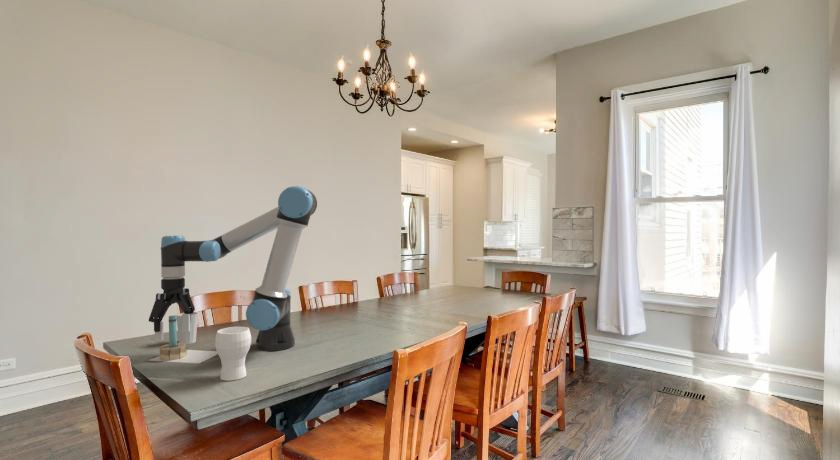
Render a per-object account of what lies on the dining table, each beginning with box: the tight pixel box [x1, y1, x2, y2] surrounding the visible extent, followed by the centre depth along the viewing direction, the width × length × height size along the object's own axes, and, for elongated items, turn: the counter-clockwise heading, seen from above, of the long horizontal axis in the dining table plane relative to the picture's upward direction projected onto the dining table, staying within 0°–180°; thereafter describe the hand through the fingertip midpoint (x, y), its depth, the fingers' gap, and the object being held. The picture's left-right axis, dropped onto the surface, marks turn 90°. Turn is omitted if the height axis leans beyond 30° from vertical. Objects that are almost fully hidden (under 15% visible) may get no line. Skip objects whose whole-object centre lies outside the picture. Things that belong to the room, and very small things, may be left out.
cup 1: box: [176, 311, 199, 345], centre depth 175 cm, size 8×8×12 cm
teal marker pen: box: [168, 314, 178, 348], centre depth 155 cm, size 2×2×15 cm
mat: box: [148, 349, 219, 364], centre depth 157 cm, size 20×14×1 cm
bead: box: [159, 342, 188, 361], centre depth 155 cm, size 8×8×4 cm
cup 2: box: [214, 326, 252, 382], centre depth 136 cm, size 11×11×15 cm
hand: (173, 335), depth 155 cm, fingers open, 13 cm apart
